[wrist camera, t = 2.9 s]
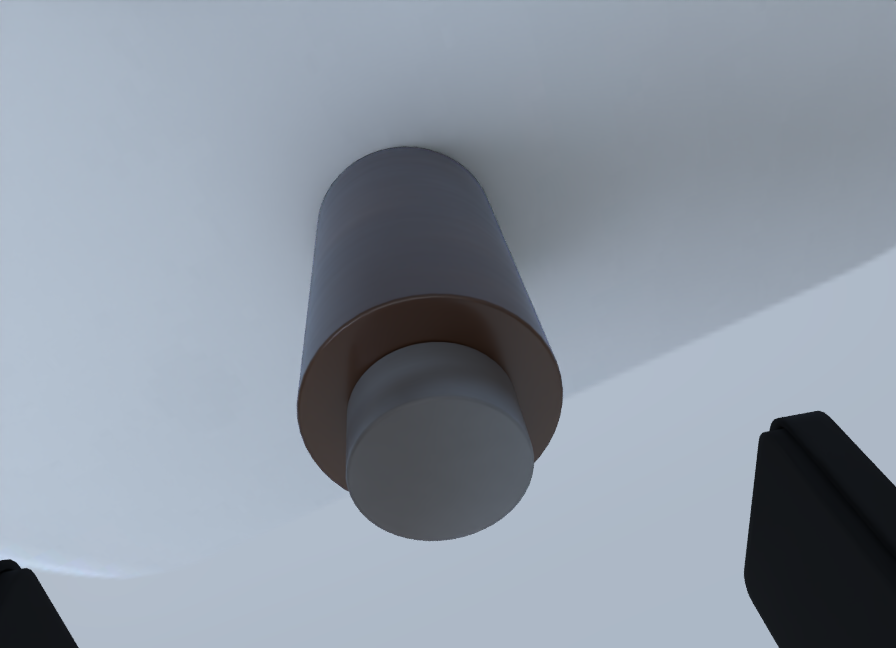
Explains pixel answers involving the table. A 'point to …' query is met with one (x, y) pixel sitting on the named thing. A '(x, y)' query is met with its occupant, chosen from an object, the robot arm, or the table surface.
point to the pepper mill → (422, 351)
